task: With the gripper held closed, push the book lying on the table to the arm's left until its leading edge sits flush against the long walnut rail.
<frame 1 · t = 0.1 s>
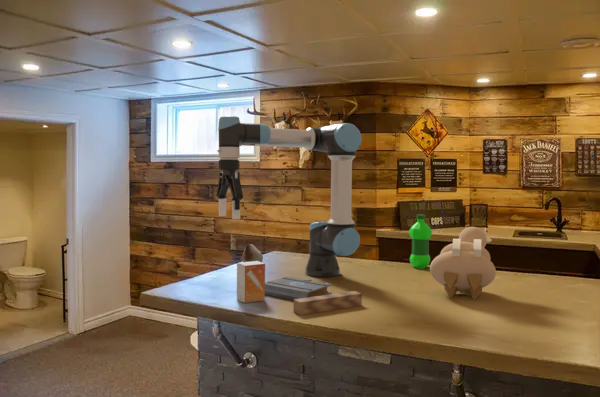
hand: (229, 217, 178), 28 cm above the table, fingers open, 13 cm apart
small box: (250, 300, 170), on the table
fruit: (252, 268, 227), on the table
book: (295, 295, 179), on the table
plastic bottle: (419, 267, 232), on the table
walrus toy: (461, 296, 178), on the table
rail: (328, 308, 160), on the table
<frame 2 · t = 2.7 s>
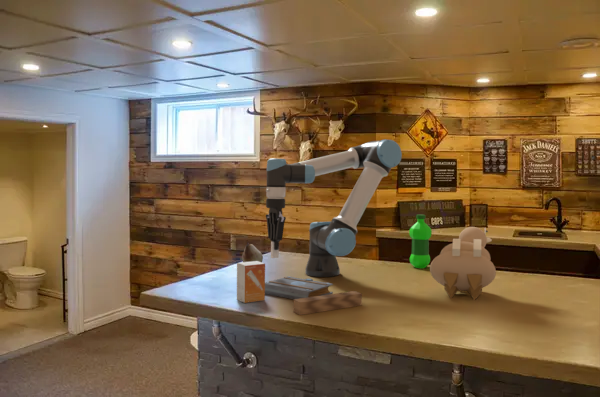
hand: (274, 257, 193), 11 cm above the table, fingers closed
nothing on the table moved.
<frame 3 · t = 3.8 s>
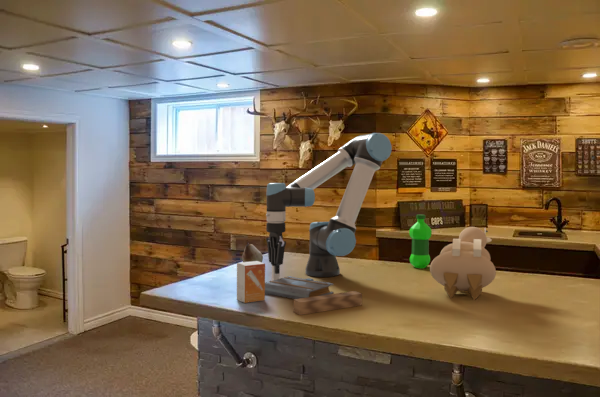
hand: (275, 281, 193), 1 cm above the table, fingers closed
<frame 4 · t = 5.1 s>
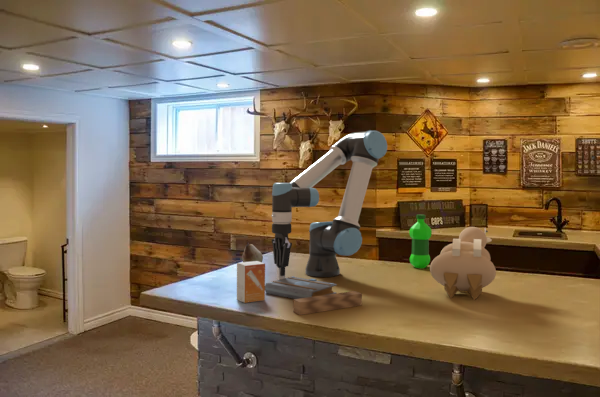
hand: (280, 283, 189), 2 cm above the table, fingers closed
book: (300, 295, 180), on the table, touching gripper
everything else where it was.
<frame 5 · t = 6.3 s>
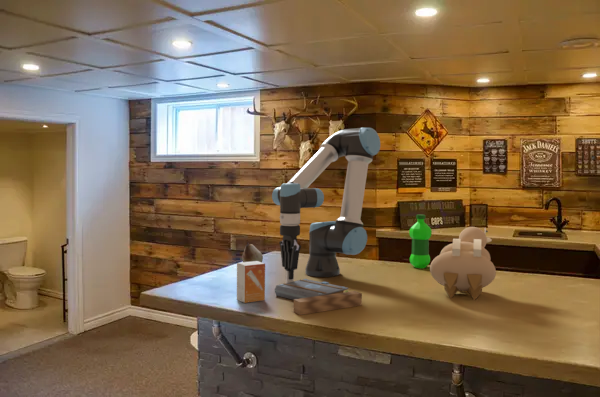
hand: (289, 287, 183), 2 cm above the table, fingers closed
book: (311, 298, 175), on the table
everything else where it was.
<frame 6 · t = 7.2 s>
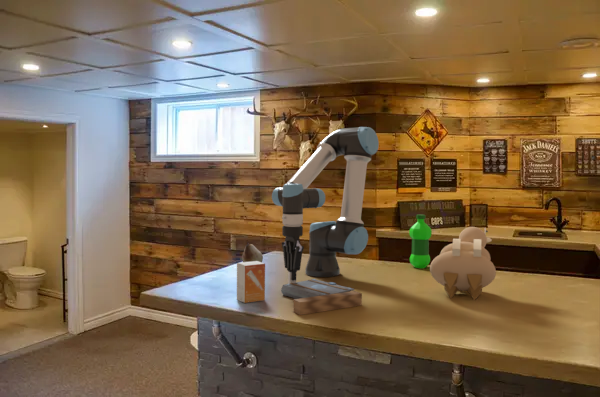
hand: (292, 288, 182), 1 cm above the table, fingers closed
book: (317, 299, 175), on the table, touching gripper, rail
everything else where it was.
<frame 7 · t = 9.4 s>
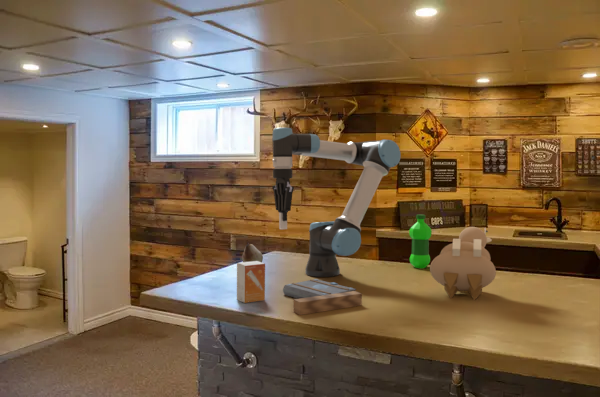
hand: (283, 229, 189), 23 cm above the table, fingers closed
book: (319, 299, 175), on the table
everything else where it was.
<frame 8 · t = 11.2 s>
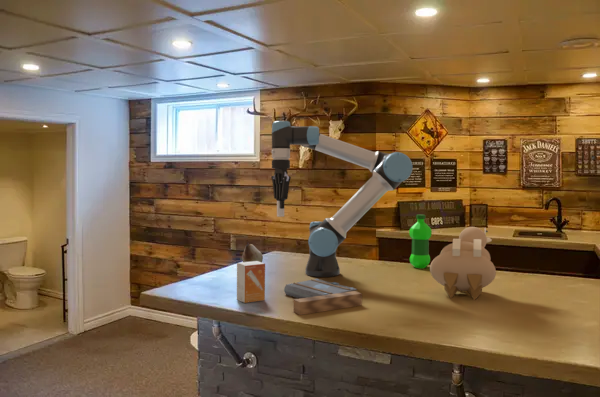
hand: (280, 216, 202), 26 cm above the table, fingers closed
nothing on the table moved.
at the end: book inside the target area on the table beside the rail (5.8 cm from its centre), on the table; book tilted 0°; book moved 9.8 cm from its start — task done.
